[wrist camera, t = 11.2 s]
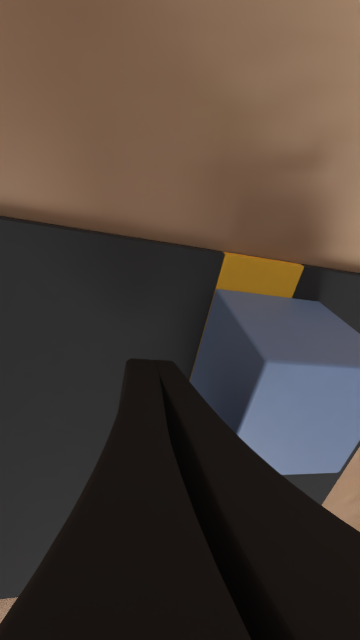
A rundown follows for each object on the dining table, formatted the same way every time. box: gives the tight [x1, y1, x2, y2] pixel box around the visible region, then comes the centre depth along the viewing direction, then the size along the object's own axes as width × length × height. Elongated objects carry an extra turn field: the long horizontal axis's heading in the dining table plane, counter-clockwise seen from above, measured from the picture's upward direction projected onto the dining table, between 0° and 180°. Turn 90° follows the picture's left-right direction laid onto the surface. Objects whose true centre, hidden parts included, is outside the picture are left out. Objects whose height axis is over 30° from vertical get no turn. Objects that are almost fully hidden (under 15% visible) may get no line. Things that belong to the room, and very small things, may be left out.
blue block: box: [190, 289, 360, 475], centre depth 11 cm, size 4×4×4 cm
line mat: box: [0, 216, 360, 599], centre depth 16 cm, size 21×18×1 cm
